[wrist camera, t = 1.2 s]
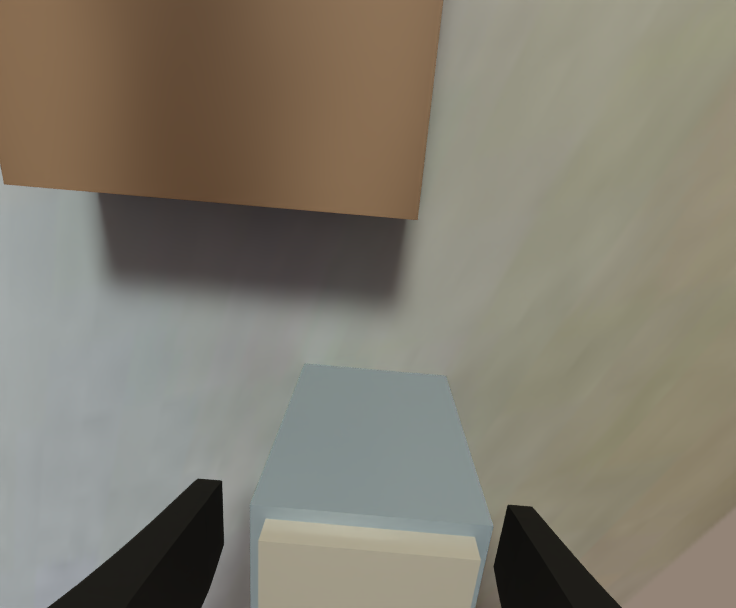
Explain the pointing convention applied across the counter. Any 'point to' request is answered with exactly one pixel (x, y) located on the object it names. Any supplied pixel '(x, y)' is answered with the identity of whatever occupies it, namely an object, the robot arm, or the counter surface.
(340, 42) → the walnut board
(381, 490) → the blue block cream face
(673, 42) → the counter surface
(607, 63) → the counter surface
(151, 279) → the counter surface
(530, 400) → the counter surface
